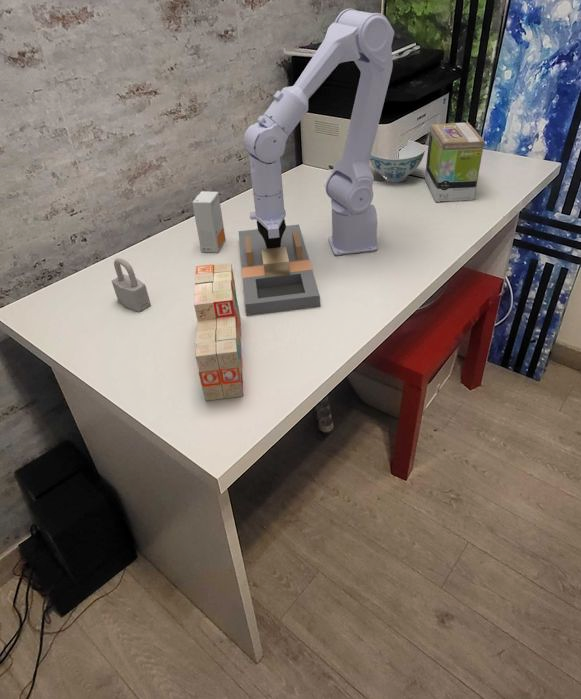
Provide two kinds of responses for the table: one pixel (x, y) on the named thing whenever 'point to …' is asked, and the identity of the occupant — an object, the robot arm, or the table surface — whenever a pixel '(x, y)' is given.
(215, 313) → the stack of blocks
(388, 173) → the chinaware
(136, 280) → the padlock
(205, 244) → the skincare box
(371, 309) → the table surface
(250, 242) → the tunnel deck
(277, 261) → the birch block
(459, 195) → the tea box
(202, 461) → the table surface
